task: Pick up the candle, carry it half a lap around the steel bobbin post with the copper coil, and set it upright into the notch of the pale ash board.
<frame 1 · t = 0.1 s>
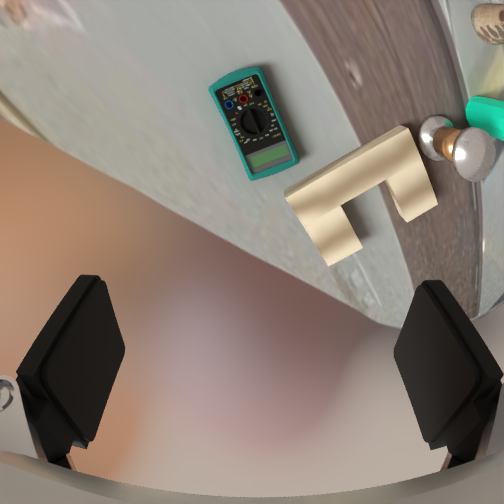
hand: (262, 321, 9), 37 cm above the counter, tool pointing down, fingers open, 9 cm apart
digital multimeter: (255, 122, 42), on the counter
candle: (478, 113, 38), on the counter
bobbin post: (436, 137, 41), on the counter
notched board: (362, 193, 46), on the counter
figurine: (485, 24, 30), on the counter
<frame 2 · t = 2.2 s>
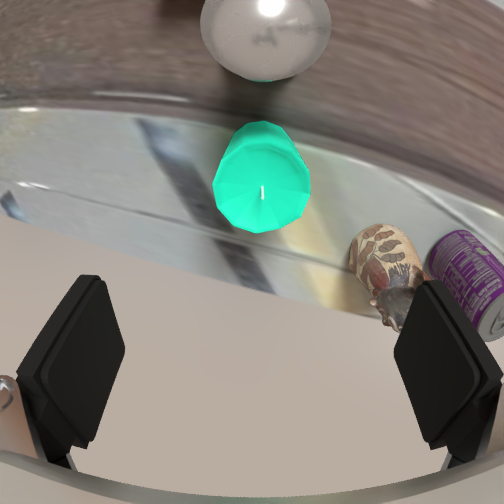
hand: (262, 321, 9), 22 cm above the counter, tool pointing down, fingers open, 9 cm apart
candle: (260, 152, 28), on the counter
beverage can: (450, 252, 33), on the counter
bobbin post: (262, 44, 23), on the counter
figurine: (377, 251, 33), on the counter
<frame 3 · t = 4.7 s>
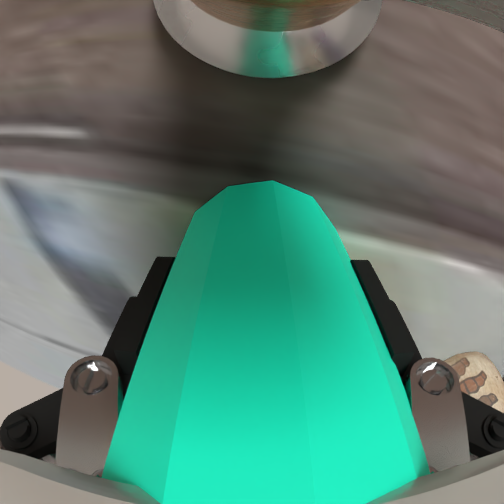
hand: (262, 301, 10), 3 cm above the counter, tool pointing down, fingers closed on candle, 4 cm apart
candle: (260, 252, 13), on the counter, touching gripper
figurine: (446, 383, 18), on the counter
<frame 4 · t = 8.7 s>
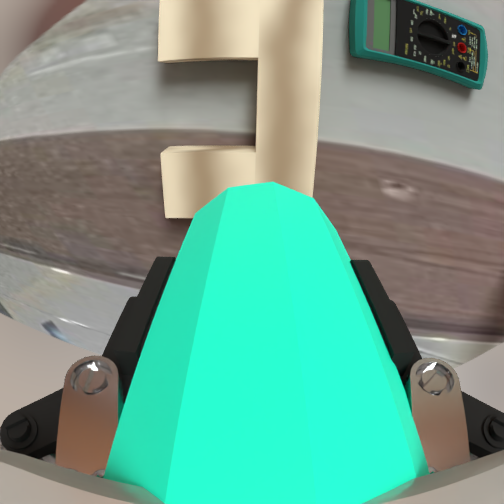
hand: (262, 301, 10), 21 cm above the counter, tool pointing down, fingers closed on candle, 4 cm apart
digital multimeter: (416, 38, 23), on the counter
candle: (261, 254, 13), point 18 cm above the counter, touching gripper
notched board: (239, 102, 26), on the counter
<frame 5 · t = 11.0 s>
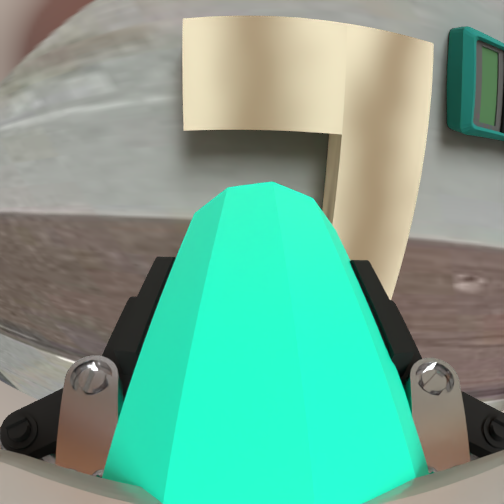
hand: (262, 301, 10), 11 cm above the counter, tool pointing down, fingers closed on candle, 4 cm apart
candle: (260, 254, 13), point 8 cm above the counter, touching gripper
notched board: (300, 188, 20), on the counter
when the fingers open (4 cm above the counter, at t = 12.8 s): candle stays where it is, on the counter.
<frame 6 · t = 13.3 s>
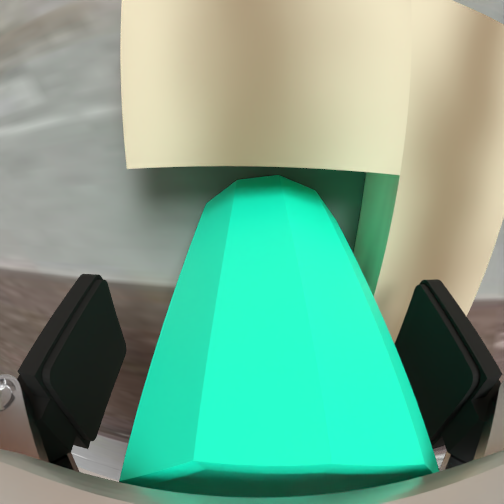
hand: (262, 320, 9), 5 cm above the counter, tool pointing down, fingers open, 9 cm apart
candle: (266, 242, 13), on the counter
notched board: (320, 244, 13), on the counter
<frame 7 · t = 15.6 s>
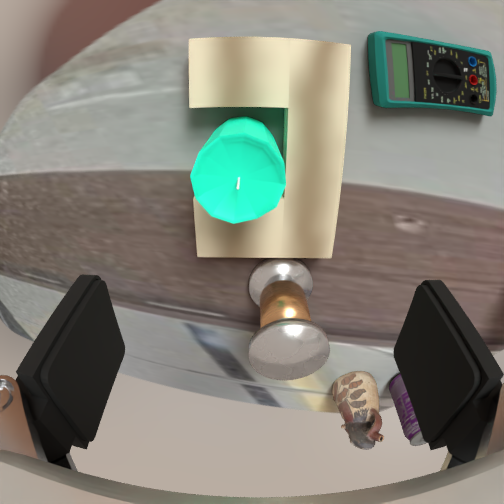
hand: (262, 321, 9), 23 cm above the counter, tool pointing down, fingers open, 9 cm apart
digital multimeter: (430, 74, 25), on the counter
candle: (242, 146, 29), on the counter
beverage can: (407, 376, 46), on the counter
bobbin post: (280, 282, 36), on the counter
notched board: (266, 147, 29), on the counter
figurine: (352, 383, 46), on the counter
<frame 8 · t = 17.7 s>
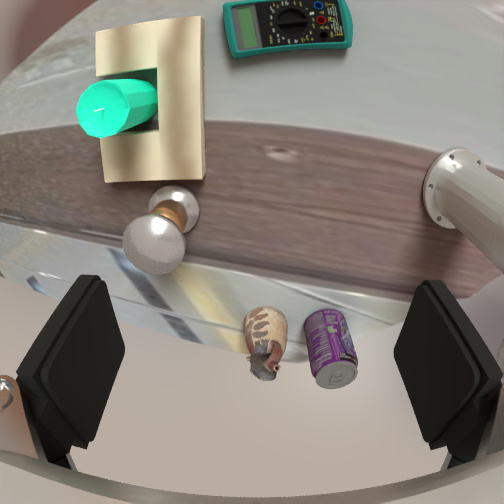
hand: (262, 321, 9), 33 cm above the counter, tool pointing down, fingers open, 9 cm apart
digital multimeter: (286, 25, 32), on the counter
candle: (137, 101, 36), on the counter
beverage can: (324, 321, 53), on the counter
bobbin post: (174, 208, 43), on the counter
notched board: (153, 99, 36), on the counter
figurine: (265, 321, 53), on the counter
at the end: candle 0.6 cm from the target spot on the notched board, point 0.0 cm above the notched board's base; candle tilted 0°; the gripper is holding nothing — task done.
